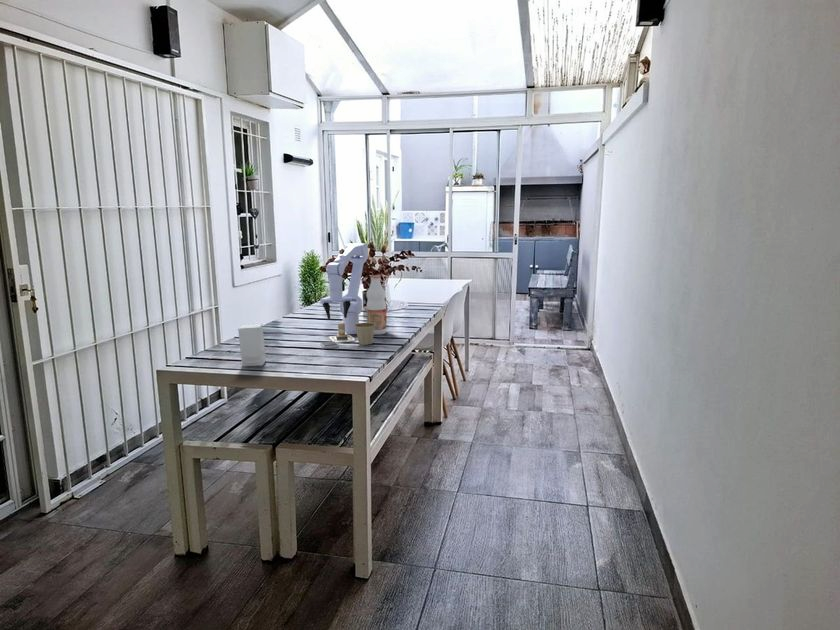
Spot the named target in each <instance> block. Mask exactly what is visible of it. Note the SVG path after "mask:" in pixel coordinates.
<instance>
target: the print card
mask: <svg viewBox="0 0 840 630" xmlns="http://www.w3.org/2000/svg"><path fill="white" fill-rule="evenodd" d="M347 336H348V339H344V340H337V338H336V335H333V336H332V335H331V336H328V339H329V340H330V342H332V341H335V342H336V343H337V344H340V343H342V344H343V343H351V342H352V343H353V342H356V341H357V340H356V338H354V337H353V336H351V334H347Z"/></svg>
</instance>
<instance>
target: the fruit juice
mask: <svg viewBox="0 0 840 630" xmlns="http://www.w3.org/2000/svg"><path fill="white" fill-rule="evenodd" d="M369 278H370V283H369V284H370V286H369V288H368V289H367V290H366V299H367V302H366V323H374V324H376V325H375V328H374V334H373V336H376V335H377V336H378V335H385V334H386V333H387V329H388V328H387V326H388V325H387V303H386V300H385V299H386V290H385V288H383V286H382V283H381V278H382V276H381V275H380V274H372V275H370V276H369Z"/></svg>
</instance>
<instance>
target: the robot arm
mask: <svg viewBox="0 0 840 630" xmlns="http://www.w3.org/2000/svg"><path fill="white" fill-rule="evenodd" d="M368 255H369V247H368V245H367V243H365V242H363V243H357V242H356V243H353V242H352V243H351V242H348V243H346V245H345V249H344V252H343V254H338V256H337V257H336V258H335V259H334V261H332V262H329V263H328V264H327V265H326V269H325V270H326V275H327V278H328V282H329V283H328V284H329V286H328V287H329V298H321V299H320V301H319V303H320V304H319V305H322V306H323V308H324V311H325V313H326V317H327V320H331V311H330V310H331V305H330V304H337V303H339V311H340V313H341V314H342V315H343V316H342V323H345V333H347V335H353V334H357V330H356V327H355V326H354V325H355V324H358V323H360V320H359V319H360V316H359V315H360V314H361V313H362V311H363V299H362V298H361V297H360V296H359V291H360V287H361V280H362V275H363V274H362V273H363V268H364V264H365V263H366V262H367V260H368ZM349 262H351V263H352V269H351V275H350V279H349V285H348V289H347V290H348V291H347V293H346V294H345V295H343V275H344V273H345V269H346V266H348V264H349Z"/></svg>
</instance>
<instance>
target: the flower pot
mask: <svg viewBox="0 0 840 630" xmlns="http://www.w3.org/2000/svg"><path fill="white" fill-rule="evenodd" d="M375 325H376V324H374V323H367V322H359V323H358V324H355V325H354V326H355V327H356V330H357V333H356V336H357V340H358V344H359V345H362V346H368V345H372V344H373V342H374V341H373V340H374V335H373V334H374V328H375Z"/></svg>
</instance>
